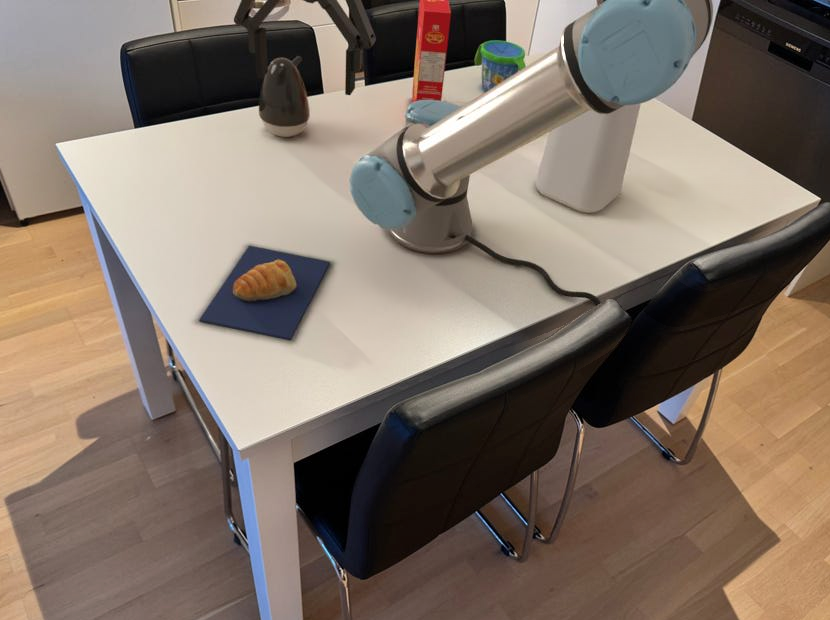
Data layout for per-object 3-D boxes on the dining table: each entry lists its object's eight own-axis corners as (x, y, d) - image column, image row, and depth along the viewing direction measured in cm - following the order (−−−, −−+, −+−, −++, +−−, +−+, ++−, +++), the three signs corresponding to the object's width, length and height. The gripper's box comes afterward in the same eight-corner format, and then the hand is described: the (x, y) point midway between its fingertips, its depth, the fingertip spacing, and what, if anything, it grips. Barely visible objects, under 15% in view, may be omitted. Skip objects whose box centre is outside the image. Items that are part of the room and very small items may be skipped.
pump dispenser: (320, 131, 157) (320, 59, 146) (287, 148, 150) (284, 74, 139) (283, 115, 160) (280, 43, 150) (249, 131, 153) (244, 57, 143)
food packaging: (411, 100, 172) (420, -14, 155) (434, 102, 173) (445, -12, 156) (413, 129, 162) (424, 10, 145) (437, 131, 162) (450, 13, 145)
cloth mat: (329, 263, 124) (329, 261, 123) (290, 340, 109) (290, 338, 109) (249, 247, 124) (249, 245, 124) (199, 321, 110) (199, 319, 109)
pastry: (246, 311, 112) (244, 291, 109) (225, 287, 115) (222, 267, 113) (300, 291, 117) (299, 271, 114) (278, 269, 120) (277, 250, 118)
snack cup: (533, 99, 180) (541, 58, 173) (499, 107, 175) (506, 64, 168) (494, 74, 189) (500, 33, 182) (461, 80, 184) (466, 39, 177)
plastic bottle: (562, 164, 158) (594, 30, 139) (625, 191, 152) (668, 55, 133) (526, 190, 148) (555, 50, 129) (592, 220, 143) (633, 78, 124)
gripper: (402, -67, 99) (392, 88, 113) (222, -98, 100) (235, 59, 114) (389, -52, 93) (380, 108, 108) (199, -86, 94) (216, 77, 109)
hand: (306, 83), depth 111 cm, fingers open, 13 cm apart
